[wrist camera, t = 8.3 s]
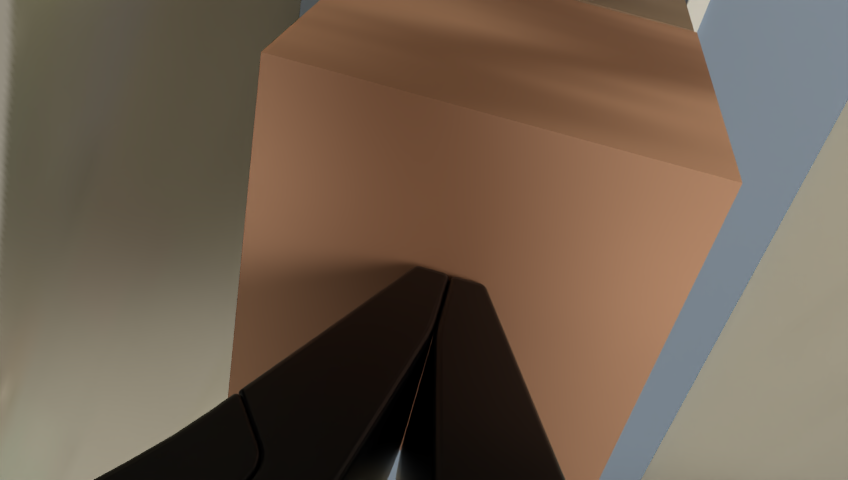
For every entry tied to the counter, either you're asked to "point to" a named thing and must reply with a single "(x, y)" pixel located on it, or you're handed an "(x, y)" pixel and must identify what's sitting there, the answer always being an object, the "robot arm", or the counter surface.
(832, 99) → the board
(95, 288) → the counter surface
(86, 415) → the counter surface
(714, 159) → the terracotta block
